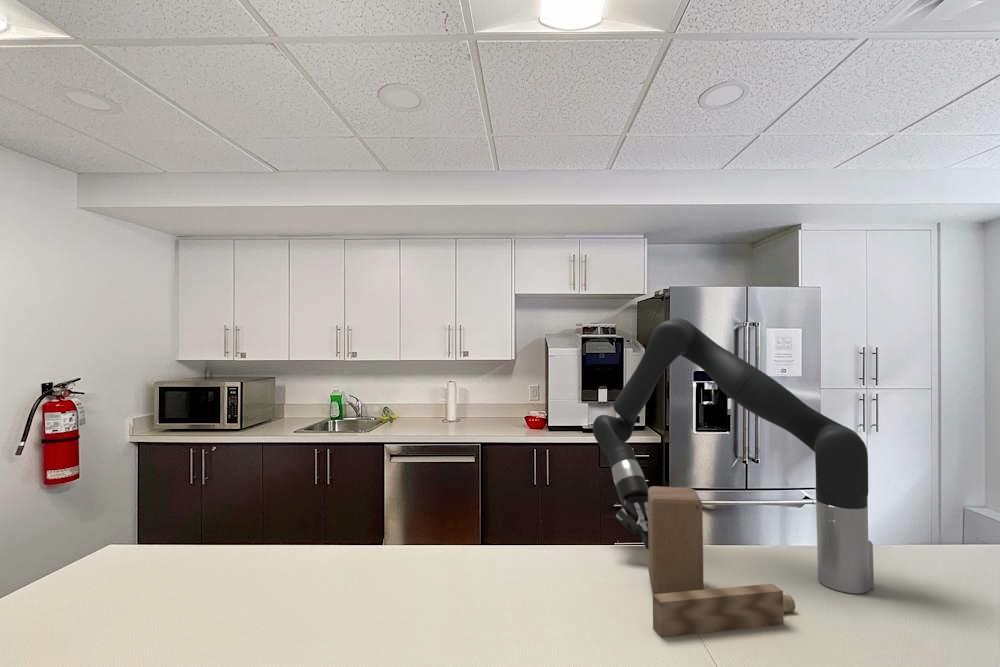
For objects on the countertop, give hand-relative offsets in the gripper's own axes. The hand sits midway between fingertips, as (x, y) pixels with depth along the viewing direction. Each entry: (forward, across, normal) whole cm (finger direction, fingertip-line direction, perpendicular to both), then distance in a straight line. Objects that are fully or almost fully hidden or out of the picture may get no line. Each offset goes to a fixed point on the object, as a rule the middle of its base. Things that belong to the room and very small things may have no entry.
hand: (653, 549), depth 118 cm
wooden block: (+10, 0, -4) cm, 11 cm away
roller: (+19, +12, -12) cm, 26 cm away
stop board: (+21, 0, -15) cm, 26 cm away
